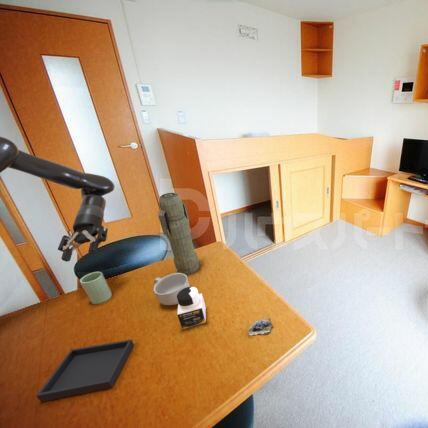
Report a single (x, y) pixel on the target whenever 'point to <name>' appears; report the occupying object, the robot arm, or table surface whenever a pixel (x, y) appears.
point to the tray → (87, 370)
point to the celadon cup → (96, 287)
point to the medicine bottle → (191, 307)
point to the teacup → (170, 287)
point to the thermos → (178, 232)
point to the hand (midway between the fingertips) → (78, 256)
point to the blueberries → (260, 327)
